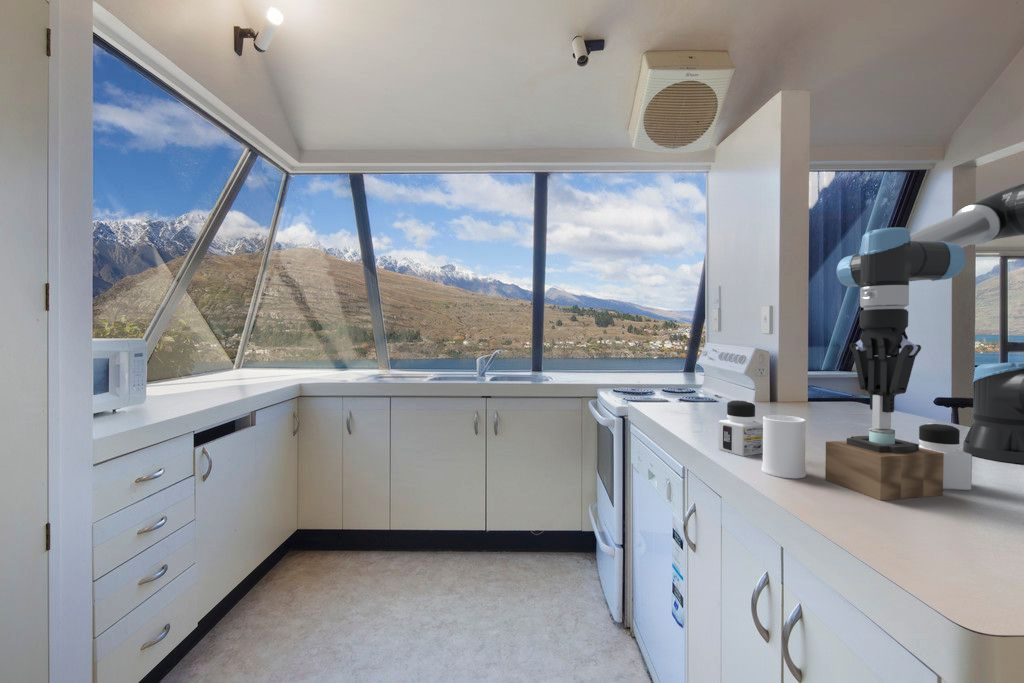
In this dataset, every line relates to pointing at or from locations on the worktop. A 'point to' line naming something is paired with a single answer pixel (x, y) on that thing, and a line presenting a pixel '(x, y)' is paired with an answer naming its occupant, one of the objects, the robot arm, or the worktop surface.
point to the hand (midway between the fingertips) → (881, 427)
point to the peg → (882, 436)
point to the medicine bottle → (948, 454)
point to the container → (741, 430)
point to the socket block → (884, 468)
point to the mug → (784, 446)
